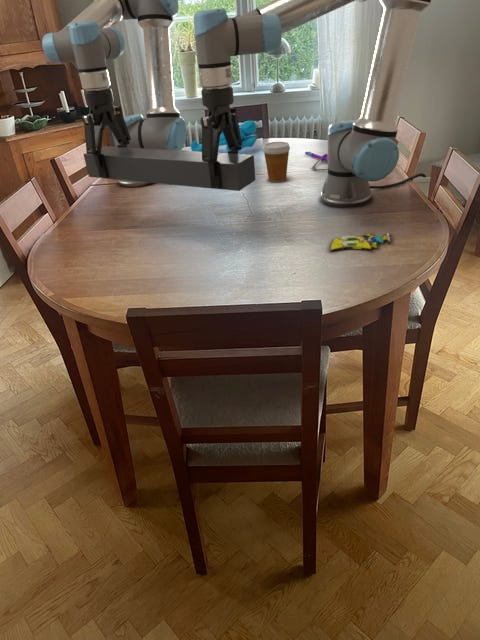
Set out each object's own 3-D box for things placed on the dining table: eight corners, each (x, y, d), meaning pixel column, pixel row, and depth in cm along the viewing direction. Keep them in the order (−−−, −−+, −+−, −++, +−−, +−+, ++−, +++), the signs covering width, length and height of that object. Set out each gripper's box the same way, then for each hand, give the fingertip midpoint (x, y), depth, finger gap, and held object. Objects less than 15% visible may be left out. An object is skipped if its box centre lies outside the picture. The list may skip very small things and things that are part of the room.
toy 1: (195, 134, 218) (257, 114, 208) (203, 157, 223) (264, 139, 213) (184, 143, 204) (250, 123, 194) (193, 168, 209) (257, 149, 199)
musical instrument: (342, 175, 173) (362, 153, 185) (341, 169, 172) (361, 148, 184) (283, 174, 186) (305, 153, 198) (282, 169, 184) (305, 148, 196)
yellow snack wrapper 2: (393, 247, 116) (330, 248, 119) (393, 250, 117) (330, 251, 119) (388, 230, 125) (329, 232, 127) (387, 233, 125) (329, 235, 127)
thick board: (88, 176, 142) (83, 154, 138) (109, 168, 148) (104, 146, 144) (239, 191, 120) (237, 164, 116) (255, 180, 126) (253, 154, 122)
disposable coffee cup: (260, 182, 170) (258, 147, 164) (269, 174, 177) (267, 141, 171) (286, 183, 167) (285, 148, 160) (294, 175, 174) (293, 141, 168)
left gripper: (78, 95, 120) (100, 184, 132) (133, 82, 136) (147, 162, 148) (57, 95, 123) (80, 182, 135) (113, 82, 139) (129, 161, 151)
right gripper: (206, 94, 104) (217, 196, 116) (251, 79, 119) (257, 170, 131) (177, 95, 107) (191, 193, 119) (225, 80, 123) (233, 168, 135)
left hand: (115, 172), depth 142 cm, fingers closed on thick board, 9 cm apart
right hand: (225, 181), depth 125 cm, fingers closed on thick board, 9 cm apart
